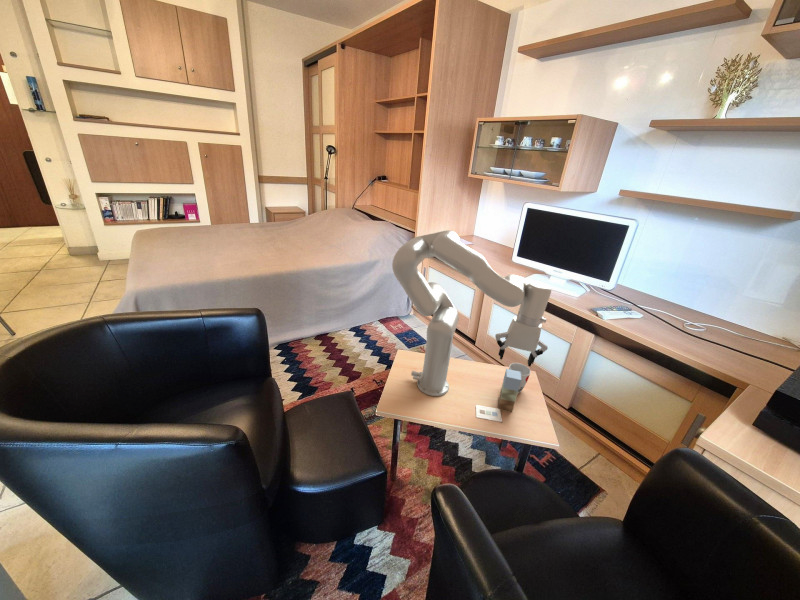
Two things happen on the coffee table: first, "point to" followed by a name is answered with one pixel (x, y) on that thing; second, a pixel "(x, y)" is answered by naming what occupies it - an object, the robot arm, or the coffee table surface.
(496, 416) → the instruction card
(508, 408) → the tower base
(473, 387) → the coffee table surface
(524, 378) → the cup
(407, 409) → the coffee table surface
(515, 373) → the blue brick
